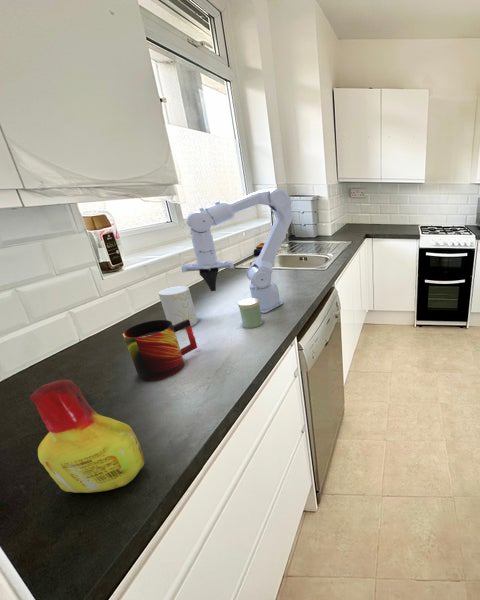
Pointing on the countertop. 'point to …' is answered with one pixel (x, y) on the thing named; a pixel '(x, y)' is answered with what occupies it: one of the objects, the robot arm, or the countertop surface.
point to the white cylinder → (178, 305)
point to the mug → (157, 348)
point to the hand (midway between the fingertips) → (213, 290)
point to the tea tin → (250, 312)
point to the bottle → (84, 442)
